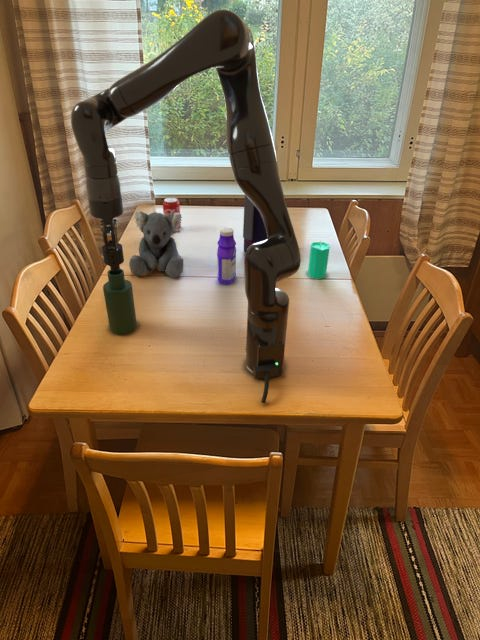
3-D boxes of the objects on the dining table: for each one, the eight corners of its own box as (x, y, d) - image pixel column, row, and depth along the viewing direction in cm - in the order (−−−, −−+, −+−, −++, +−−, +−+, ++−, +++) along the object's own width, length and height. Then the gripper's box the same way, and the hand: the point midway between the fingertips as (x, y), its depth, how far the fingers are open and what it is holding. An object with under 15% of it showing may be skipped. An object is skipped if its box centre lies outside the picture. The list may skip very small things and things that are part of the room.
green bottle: (137, 333, 126) (130, 277, 117) (110, 336, 125) (100, 280, 115) (136, 318, 132) (129, 264, 123) (109, 321, 131) (100, 266, 121)
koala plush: (128, 278, 151) (121, 220, 140) (138, 254, 166) (132, 199, 155) (183, 279, 151) (180, 221, 140) (187, 254, 166) (185, 200, 155)
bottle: (232, 286, 148) (233, 235, 138) (215, 284, 149) (214, 233, 139) (237, 276, 154) (238, 225, 144) (220, 274, 155) (220, 223, 145)
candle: (305, 276, 155) (308, 242, 148) (311, 268, 159) (315, 235, 152) (322, 280, 152) (326, 246, 146) (328, 272, 157) (333, 239, 150)
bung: (125, 272, 117) (122, 250, 114) (105, 274, 116) (101, 251, 113) (124, 264, 121) (121, 241, 118) (105, 265, 120) (101, 243, 117)
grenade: (257, 243, 175) (260, 161, 158) (283, 253, 169) (290, 168, 152) (233, 256, 166) (234, 170, 149) (260, 266, 160) (264, 178, 143)
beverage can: (162, 227, 185) (160, 198, 179) (177, 225, 188) (176, 195, 181) (167, 233, 181) (165, 203, 174) (183, 231, 183) (181, 201, 176)
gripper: (88, 185, 113) (98, 250, 122) (86, 206, 101) (98, 276, 111) (120, 183, 114) (128, 247, 124) (122, 203, 103) (130, 273, 112)
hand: (114, 260), depth 117 cm, fingers closed on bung, 4 cm apart
